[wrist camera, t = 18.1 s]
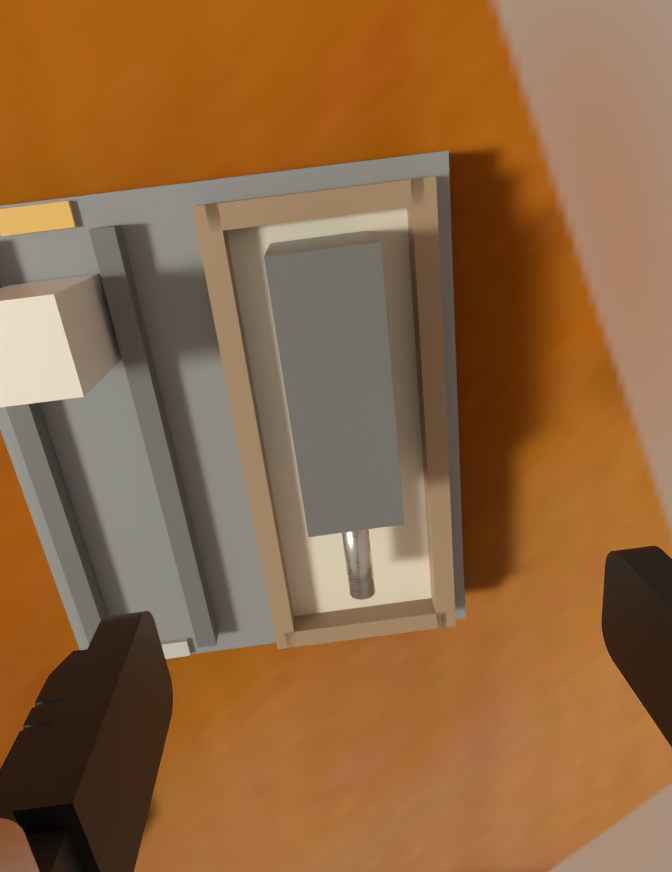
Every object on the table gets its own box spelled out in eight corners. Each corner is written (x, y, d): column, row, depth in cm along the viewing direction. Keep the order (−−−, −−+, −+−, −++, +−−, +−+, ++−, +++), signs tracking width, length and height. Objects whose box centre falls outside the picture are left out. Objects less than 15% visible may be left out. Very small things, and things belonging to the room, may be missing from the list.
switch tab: (120, 359, 21) (83, 396, 18) (36, 370, 21) (-19, 409, 18) (98, 274, 20) (53, 294, 17) (8, 284, 20) (-56, 308, 16)
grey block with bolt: (395, 556, 25) (412, 620, 21) (319, 566, 25) (323, 632, 21) (365, 231, 20) (380, 241, 16) (269, 243, 20) (263, 256, 16)
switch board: (454, 590, 29) (472, 636, 26) (100, 636, 29) (77, 688, 26) (435, 153, 21) (457, 149, 18) (-45, 212, 21) (-100, 217, 18)
